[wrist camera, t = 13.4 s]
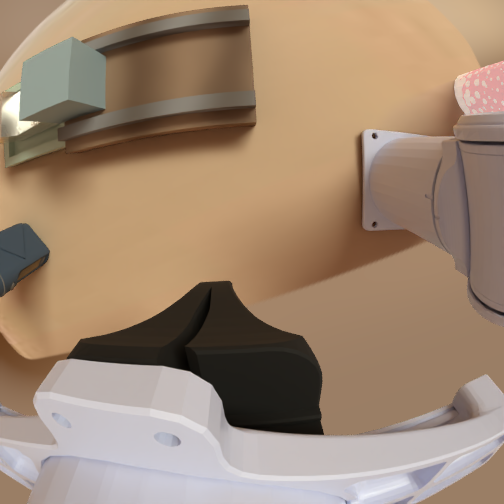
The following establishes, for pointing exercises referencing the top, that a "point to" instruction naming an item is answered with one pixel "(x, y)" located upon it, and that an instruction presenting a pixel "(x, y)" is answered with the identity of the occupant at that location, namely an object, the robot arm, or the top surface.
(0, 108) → the chip
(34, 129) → the chip
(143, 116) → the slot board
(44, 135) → the chip tray
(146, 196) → the top surface
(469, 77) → the beverage cup
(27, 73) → the sage green cube
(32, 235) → the vaping device
